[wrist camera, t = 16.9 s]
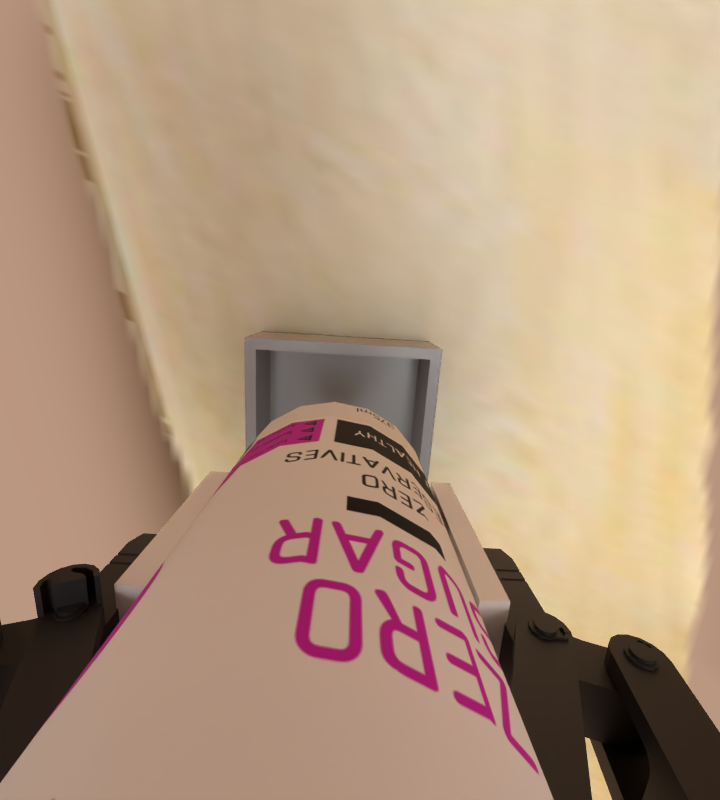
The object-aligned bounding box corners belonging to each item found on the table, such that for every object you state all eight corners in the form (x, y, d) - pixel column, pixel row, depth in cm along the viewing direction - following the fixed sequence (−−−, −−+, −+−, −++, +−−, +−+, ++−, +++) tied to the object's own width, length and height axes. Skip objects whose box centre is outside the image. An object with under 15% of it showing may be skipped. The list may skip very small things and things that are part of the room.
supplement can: (246, 558, 19) (-86, 1339, 5) (242, 393, 17) (-344, 868, 3) (412, 564, 20) (581, 1336, 5) (427, 401, 18) (778, 889, 3)
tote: (262, 331, 35) (244, 337, 29) (428, 341, 35) (442, 349, 30) (262, 564, 41) (247, 607, 35) (404, 571, 41) (412, 614, 35)
